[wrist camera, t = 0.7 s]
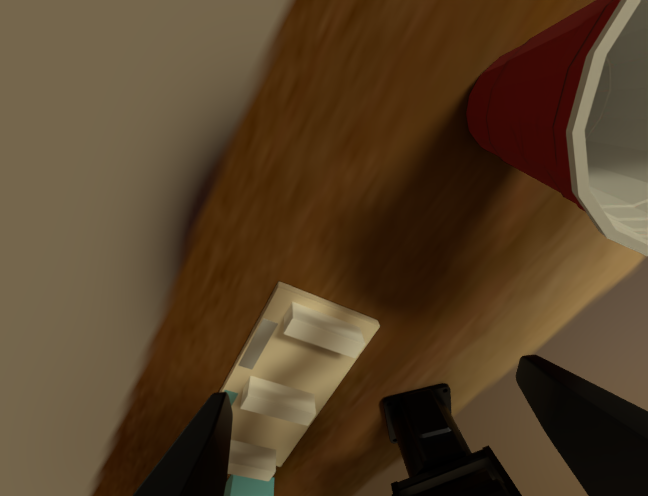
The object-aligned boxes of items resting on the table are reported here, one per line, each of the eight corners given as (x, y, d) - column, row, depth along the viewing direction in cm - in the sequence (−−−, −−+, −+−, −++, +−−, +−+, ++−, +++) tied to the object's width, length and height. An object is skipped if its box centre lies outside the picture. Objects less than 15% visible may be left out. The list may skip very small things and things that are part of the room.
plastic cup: (514, -53, 16) (955, -370, 6) (620, 77, 20) (1027, 37, 9) (389, 128, 20) (517, 151, 9) (500, 214, 23) (692, 308, 12)
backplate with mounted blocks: (377, 320, 26) (387, 343, 23) (280, 458, 32) (280, 488, 29) (278, 281, 23) (277, 302, 21) (193, 439, 29) (184, 471, 27)
